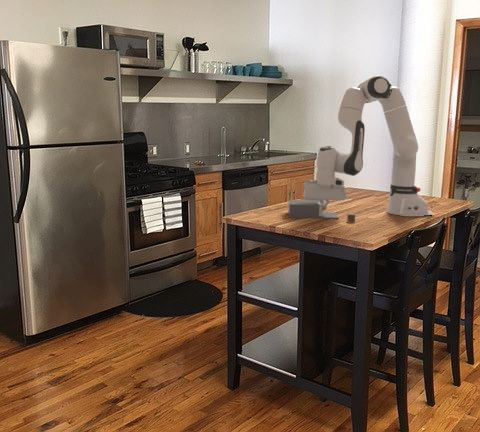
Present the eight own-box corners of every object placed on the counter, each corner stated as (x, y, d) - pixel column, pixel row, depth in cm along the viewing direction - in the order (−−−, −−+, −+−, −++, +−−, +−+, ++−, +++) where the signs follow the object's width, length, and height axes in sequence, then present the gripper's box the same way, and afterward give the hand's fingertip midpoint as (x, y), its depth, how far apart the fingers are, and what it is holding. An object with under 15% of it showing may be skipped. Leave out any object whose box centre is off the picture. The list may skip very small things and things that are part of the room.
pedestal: (353, 220, 252) (354, 213, 251) (354, 222, 249) (355, 214, 248) (347, 220, 252) (347, 213, 252) (348, 222, 249) (348, 214, 249)
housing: (335, 213, 268) (335, 201, 267) (338, 219, 255) (339, 205, 254) (288, 212, 269) (288, 199, 268) (289, 217, 257) (289, 204, 255)
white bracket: (320, 211, 268) (320, 202, 267) (322, 216, 256) (323, 207, 255) (291, 210, 269) (292, 201, 268) (292, 215, 256) (293, 206, 255)
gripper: (304, 181, 255) (303, 209, 258) (347, 181, 255) (346, 210, 258) (303, 179, 262) (301, 207, 264) (345, 179, 261) (343, 207, 264)
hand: (324, 208), depth 261 cm, fingers closed
